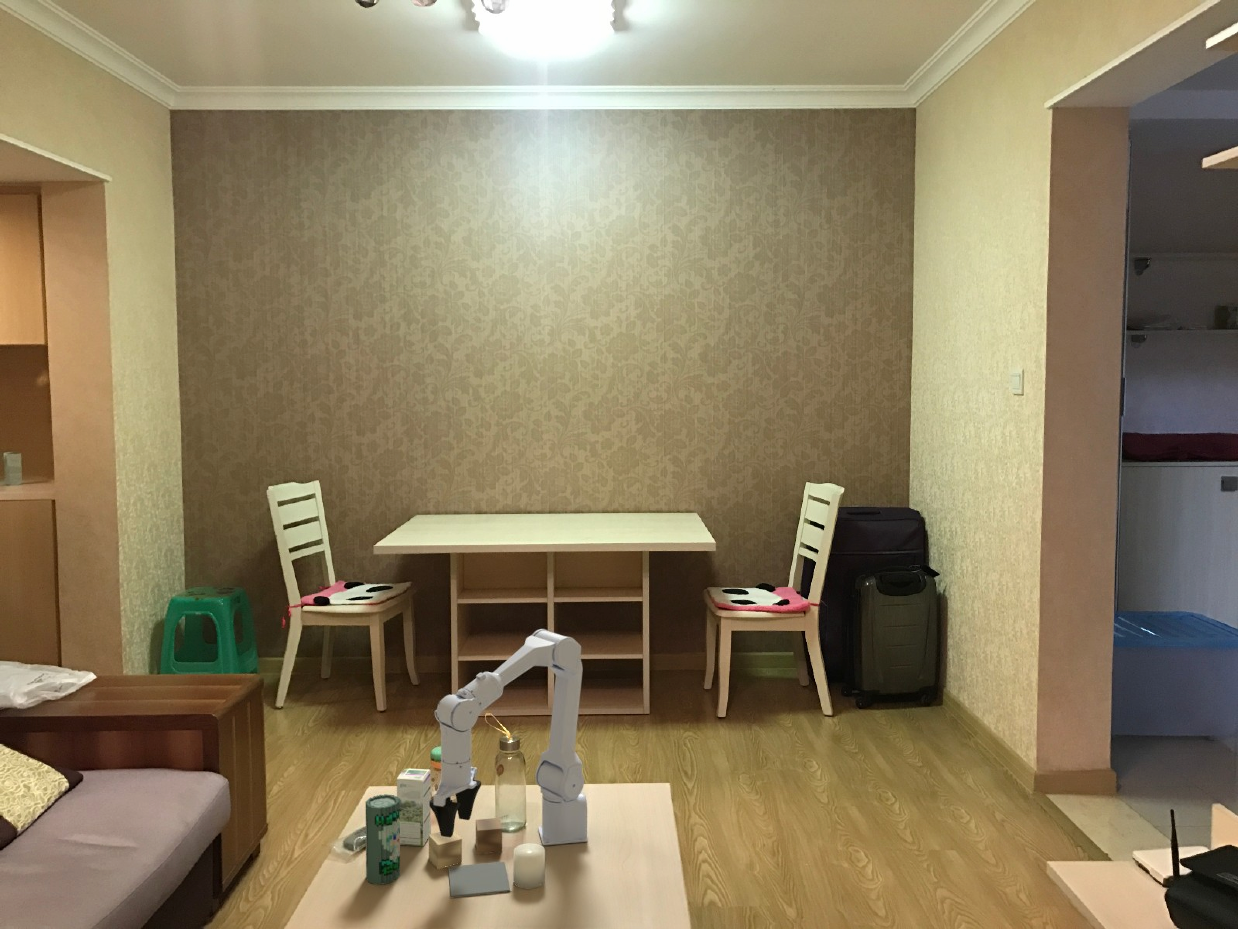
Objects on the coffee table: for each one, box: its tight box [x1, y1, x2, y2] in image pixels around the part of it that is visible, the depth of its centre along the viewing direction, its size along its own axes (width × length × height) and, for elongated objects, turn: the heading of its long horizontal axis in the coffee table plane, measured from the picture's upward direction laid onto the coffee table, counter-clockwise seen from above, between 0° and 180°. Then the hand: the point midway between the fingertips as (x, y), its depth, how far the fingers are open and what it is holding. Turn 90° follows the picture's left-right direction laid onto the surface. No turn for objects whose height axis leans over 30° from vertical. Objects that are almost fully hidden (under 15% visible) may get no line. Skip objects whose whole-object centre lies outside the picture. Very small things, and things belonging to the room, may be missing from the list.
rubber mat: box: [448, 861, 511, 899], centre depth 184 cm, size 11×11×1 cm
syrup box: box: [396, 768, 432, 847], centre depth 199 cm, size 6×6×14 cm
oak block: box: [428, 830, 463, 870], centre depth 191 cm, size 5×5×5 cm
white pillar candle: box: [513, 842, 546, 890], centre depth 184 cm, size 6×6×6 cm
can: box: [365, 793, 401, 886], centre depth 184 cm, size 6×6×15 cm
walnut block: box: [475, 817, 503, 855], centre depth 197 cm, size 5×5×5 cm
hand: (455, 827), depth 184 cm, fingers open, 7 cm apart
